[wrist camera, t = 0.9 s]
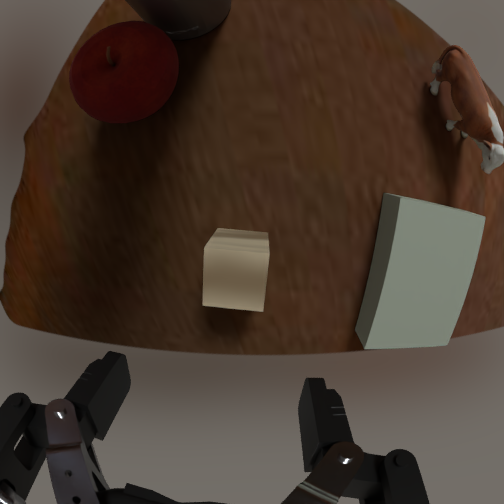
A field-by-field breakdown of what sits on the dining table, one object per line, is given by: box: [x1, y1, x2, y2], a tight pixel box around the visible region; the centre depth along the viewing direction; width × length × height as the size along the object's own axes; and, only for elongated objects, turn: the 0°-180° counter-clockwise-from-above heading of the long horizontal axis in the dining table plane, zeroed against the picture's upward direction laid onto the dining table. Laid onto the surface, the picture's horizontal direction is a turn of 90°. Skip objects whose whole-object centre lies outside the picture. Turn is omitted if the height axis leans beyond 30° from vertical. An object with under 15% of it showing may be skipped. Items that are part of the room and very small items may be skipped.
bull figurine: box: [430, 45, 504, 174], centre depth 20 cm, size 4×13×8 cm, turn 19°
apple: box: [69, 21, 179, 123], centre depth 20 cm, size 10×10×10 cm
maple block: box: [203, 228, 270, 312], centre depth 26 cm, size 5×5×7 cm
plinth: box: [355, 193, 485, 349], centre depth 27 cm, size 16×12×4 cm
